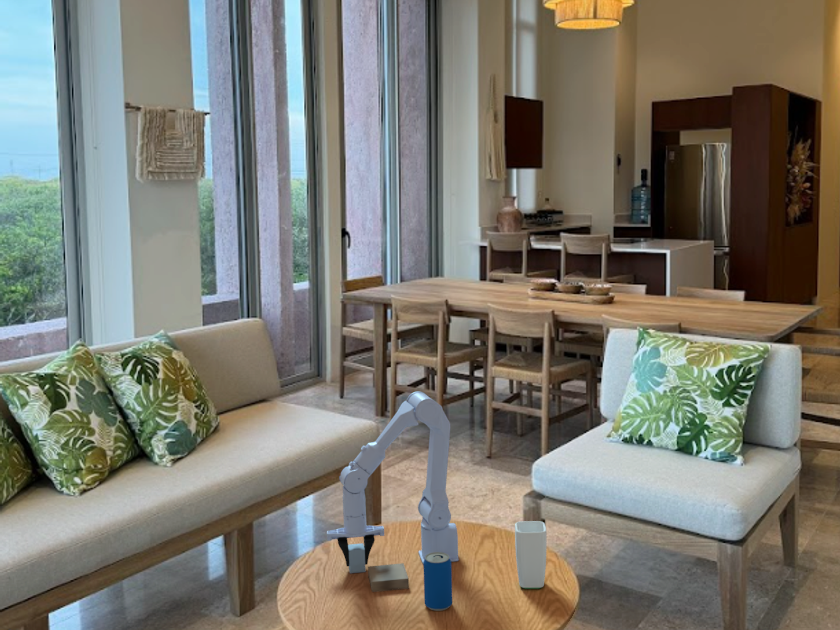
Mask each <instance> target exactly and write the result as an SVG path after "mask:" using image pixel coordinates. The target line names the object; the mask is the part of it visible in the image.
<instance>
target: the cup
mask: <svg viewBox="0 0 840 630" xmlns="http://www.w3.org/2000/svg"><path fill="white" fill-rule="evenodd" d="M514 540H515V541H514V543H515V545H514V546H515V558H516V569H517V570H516V571H517V577H518V583H519V587H521V588H522V589H529V590H531V589H534V590H537V589H541V588H543V587H544V585H545V577H546V569H547V567H546V566H547V527H546V523H545V522H543V521H539V520H536V521H535V520H534V521H533V520H529V521H528V520H526V521H525V520H523V521H522V520H521V521H517V522H515V524H514Z"/></svg>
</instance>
